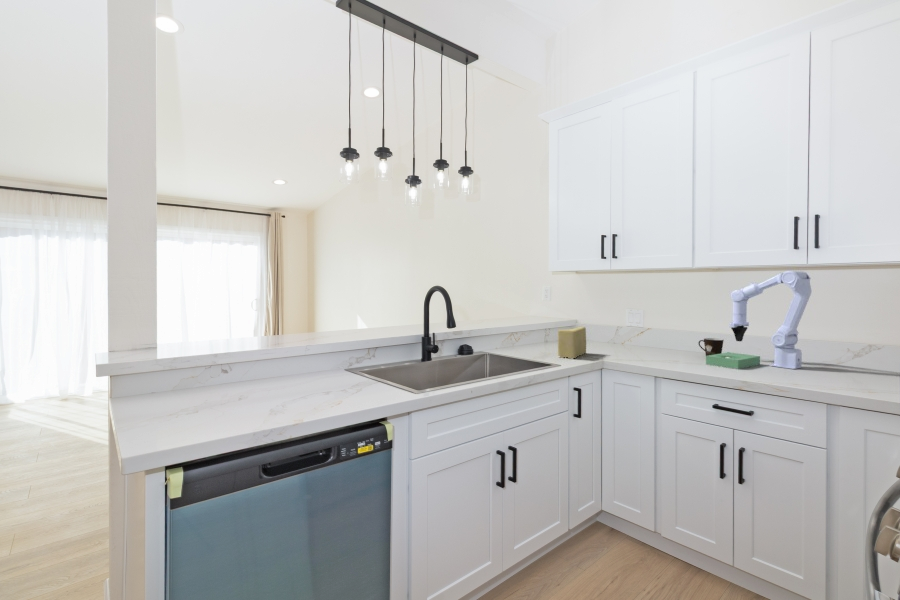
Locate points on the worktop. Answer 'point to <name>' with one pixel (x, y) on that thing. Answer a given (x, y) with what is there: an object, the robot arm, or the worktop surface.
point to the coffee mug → (712, 346)
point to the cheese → (572, 342)
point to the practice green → (733, 360)
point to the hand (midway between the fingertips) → (739, 341)
